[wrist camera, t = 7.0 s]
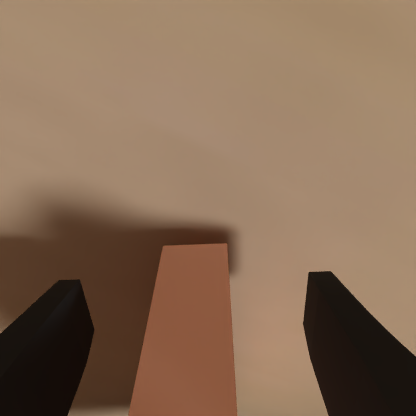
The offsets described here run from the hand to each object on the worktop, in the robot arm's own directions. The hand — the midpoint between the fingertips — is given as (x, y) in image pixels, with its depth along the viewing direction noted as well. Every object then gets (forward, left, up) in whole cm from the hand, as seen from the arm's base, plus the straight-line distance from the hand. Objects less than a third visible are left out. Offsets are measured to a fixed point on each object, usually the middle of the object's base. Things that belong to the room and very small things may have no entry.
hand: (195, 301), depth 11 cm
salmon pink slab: (0, +4, -1) cm, 4 cm away
